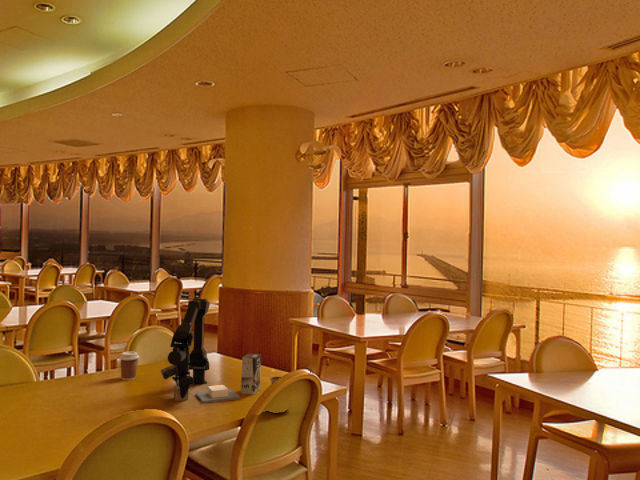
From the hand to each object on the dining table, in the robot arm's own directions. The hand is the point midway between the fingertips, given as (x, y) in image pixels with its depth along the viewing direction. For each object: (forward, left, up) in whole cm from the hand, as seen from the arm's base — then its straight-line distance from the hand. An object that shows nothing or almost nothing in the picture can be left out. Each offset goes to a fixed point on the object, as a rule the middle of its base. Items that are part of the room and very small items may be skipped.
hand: (180, 396), depth 218 cm
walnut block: (0, 0, -1) cm, 1 cm away
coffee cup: (-40, -16, -1) cm, 43 cm away
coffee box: (0, +31, -1) cm, 31 cm away
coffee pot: (+28, +37, -1) cm, 46 cm away
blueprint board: (+3, +15, -1) cm, 15 cm away
